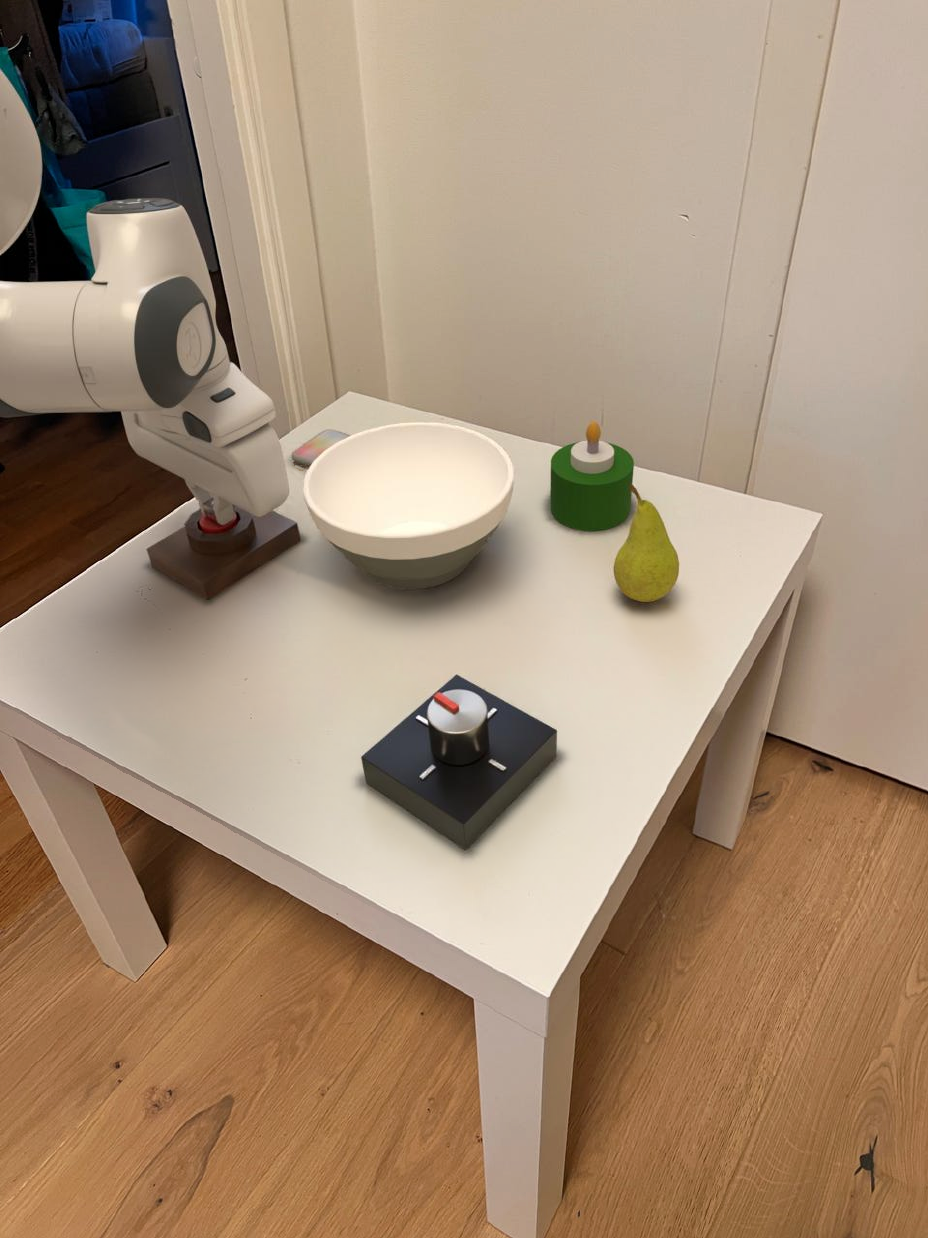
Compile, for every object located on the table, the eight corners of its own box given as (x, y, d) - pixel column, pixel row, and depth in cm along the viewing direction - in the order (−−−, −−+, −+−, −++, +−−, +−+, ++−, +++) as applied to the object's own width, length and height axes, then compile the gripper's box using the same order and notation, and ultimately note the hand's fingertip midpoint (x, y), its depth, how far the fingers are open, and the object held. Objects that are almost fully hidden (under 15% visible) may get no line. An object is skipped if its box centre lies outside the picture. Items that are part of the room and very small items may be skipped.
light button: (218, 547, 91) (214, 533, 90) (196, 535, 93) (191, 520, 92) (247, 530, 93) (243, 515, 92) (224, 518, 95) (220, 503, 94)
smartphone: (327, 426, 112) (431, 457, 105) (328, 433, 112) (432, 465, 106) (286, 454, 107) (392, 488, 100) (287, 461, 108) (393, 496, 101)
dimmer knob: (501, 741, 70) (499, 706, 68) (459, 775, 68) (456, 740, 65) (459, 712, 73) (456, 677, 70) (418, 744, 70) (413, 709, 68)
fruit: (687, 604, 85) (703, 493, 78) (631, 623, 84) (641, 512, 76) (653, 569, 90) (665, 461, 82) (599, 587, 88) (606, 477, 80)
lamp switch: (207, 600, 89) (198, 567, 87) (151, 566, 94) (140, 533, 91) (301, 540, 96) (294, 507, 93) (244, 510, 101) (236, 479, 98)
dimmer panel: (465, 850, 67) (463, 823, 65) (365, 782, 72) (360, 755, 70) (556, 756, 73) (557, 728, 71) (458, 699, 78) (456, 672, 76)
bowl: (549, 530, 95) (550, 448, 89) (450, 647, 83) (443, 561, 76) (389, 483, 103) (380, 405, 97) (277, 583, 91) (258, 501, 85)
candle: (586, 541, 93) (590, 453, 87) (534, 505, 99) (533, 420, 92) (647, 510, 97) (655, 424, 90) (593, 477, 102) (596, 393, 96)
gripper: (87, 372, 87) (130, 497, 96) (228, 437, 76) (261, 571, 85) (144, 347, 90) (180, 470, 99) (286, 406, 80) (312, 538, 89)
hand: (219, 517), depth 92 cm, fingers closed, pressing on light button
